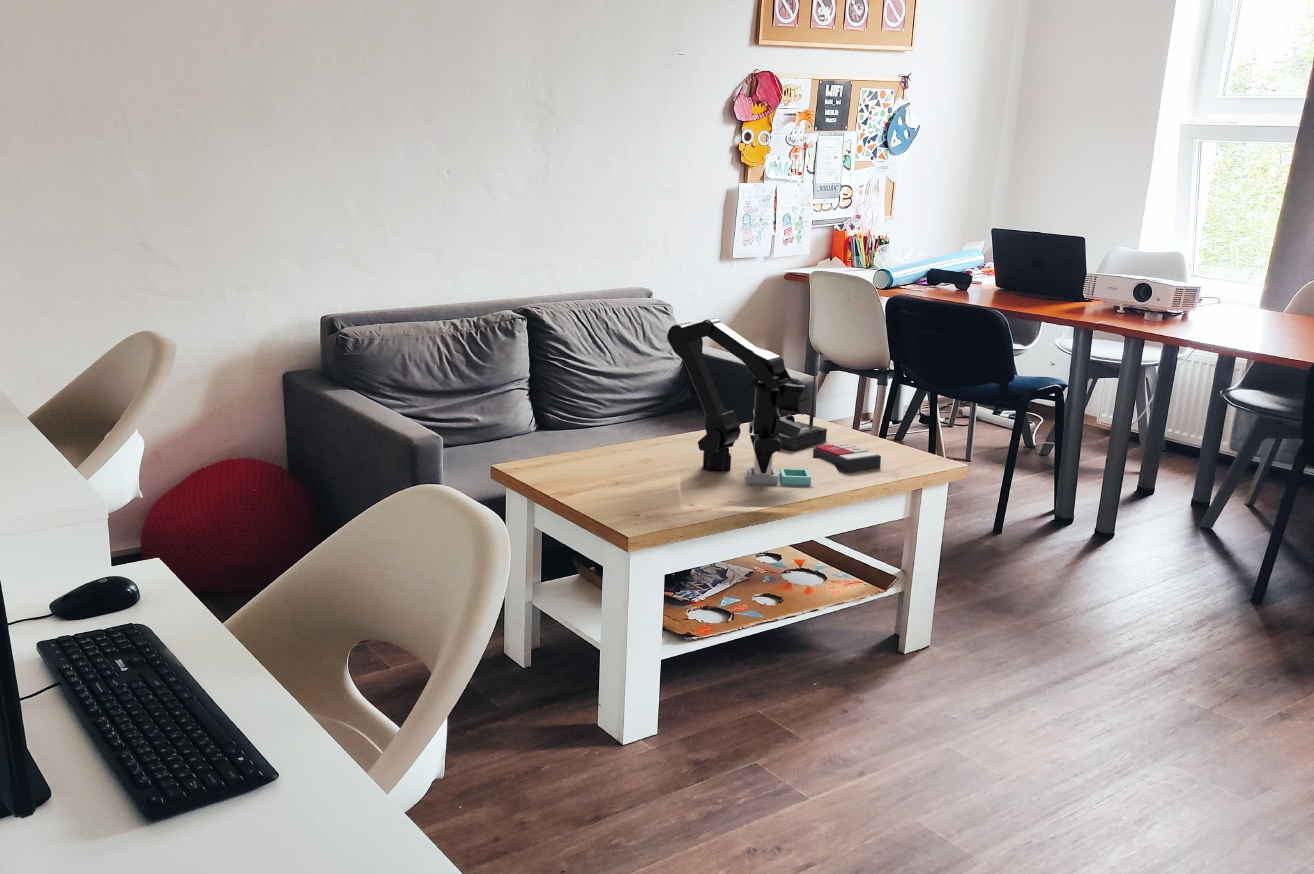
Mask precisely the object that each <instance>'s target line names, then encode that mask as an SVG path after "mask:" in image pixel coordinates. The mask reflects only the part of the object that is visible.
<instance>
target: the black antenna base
mask: <svg viewBox="0 0 1314 874" xmlns="http://www.w3.org/2000/svg"><path fill="white" fill-rule="evenodd" d="M815 390H816V376H815V375H814V376H813V380H812V393H811V397H810V406H809V419H808V420H809V422H808V423H805V422H800V421H796V422H797V423H798V424H799V425H800V426H801V430H800V432H799V435H798V437H797V439H796V440H794V439H791V437H788V436H786V435H783V434H781V433H779V436H777V437H778V438H779V439H780V441H781V450H784V451H786V452H787V451H788V452H795V451H798V450H802V449H805V448H807V447H811V446H815V445H818V444H821V443H825V442H826V441H827V433H828V429H827V428H825V427H822V426H817V425H814V417H815V403H816V402H815V400H816V397H815V395H816V393H815V392H816V391H815ZM772 436H775V435H772Z"/></svg>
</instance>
